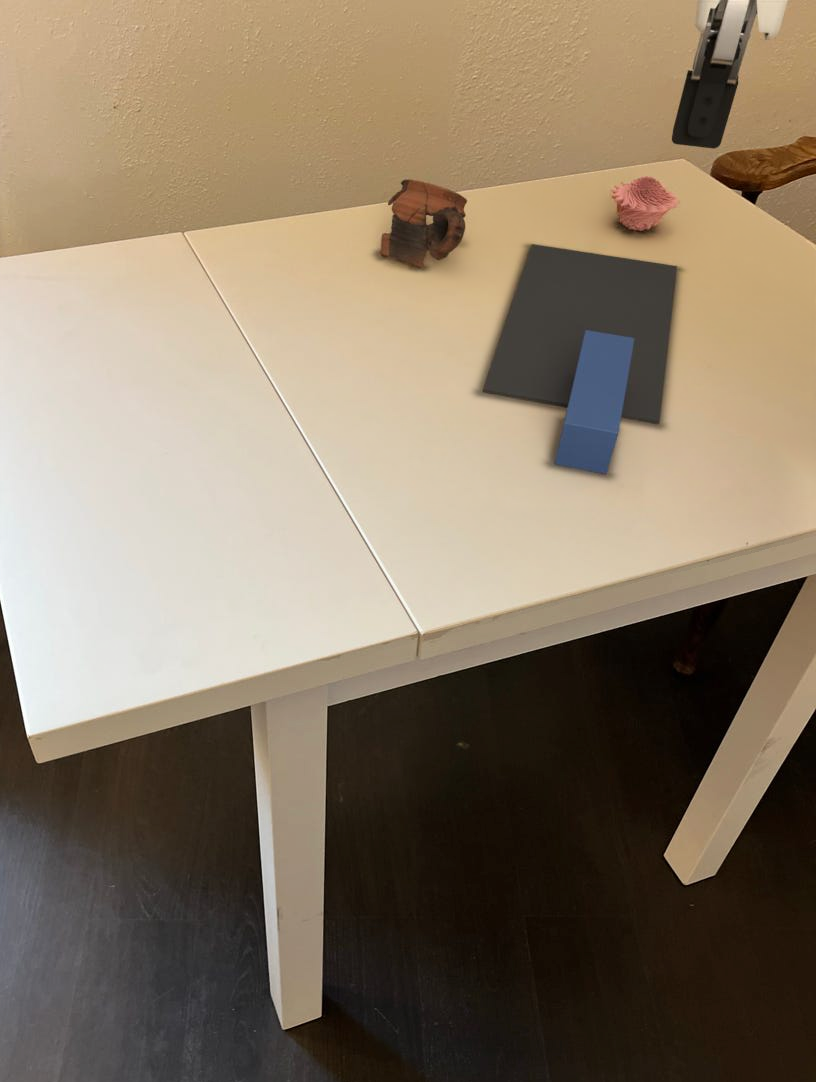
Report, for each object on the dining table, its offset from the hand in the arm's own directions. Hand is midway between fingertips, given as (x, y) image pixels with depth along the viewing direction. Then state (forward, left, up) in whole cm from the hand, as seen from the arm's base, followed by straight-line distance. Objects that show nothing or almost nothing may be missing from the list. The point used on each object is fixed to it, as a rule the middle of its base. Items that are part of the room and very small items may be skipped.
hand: (695, 141), depth 64 cm
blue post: (+2, +5, -23) cm, 23 cm away
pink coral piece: (+1, -43, -25) cm, 50 cm away
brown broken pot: (+23, -29, -25) cm, 45 cm away
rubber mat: (+4, -19, -25) cm, 32 cm away
